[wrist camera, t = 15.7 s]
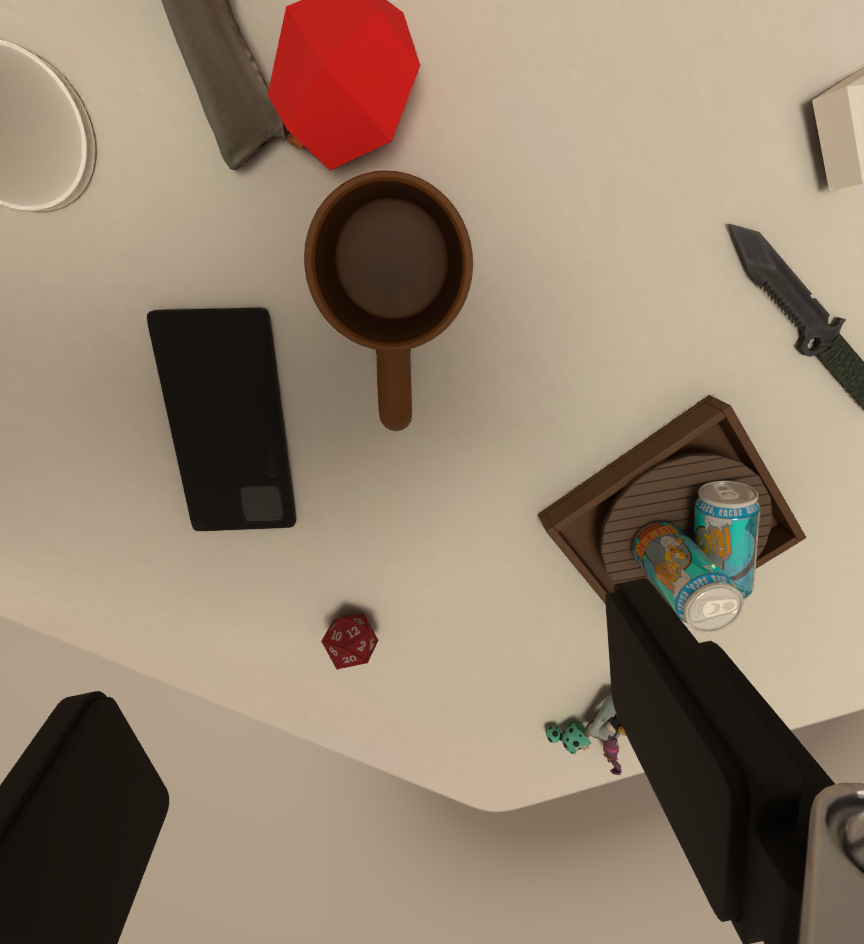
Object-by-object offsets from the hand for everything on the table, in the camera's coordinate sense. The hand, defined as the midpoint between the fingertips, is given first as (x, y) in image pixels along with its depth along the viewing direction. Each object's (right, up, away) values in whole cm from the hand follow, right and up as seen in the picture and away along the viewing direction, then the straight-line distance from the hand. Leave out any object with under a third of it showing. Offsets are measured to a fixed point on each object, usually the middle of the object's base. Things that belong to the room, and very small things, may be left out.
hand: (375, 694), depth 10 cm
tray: (+18, +1, +30) cm, 35 cm away
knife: (+27, +15, +24) cm, 38 cm away
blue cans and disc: (+19, 0, +27) cm, 33 cm away
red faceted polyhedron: (0, +25, +14) cm, 29 cm away
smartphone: (-12, +7, +25) cm, 29 cm away
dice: (-5, -8, +32) cm, 33 cm away
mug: (-1, +15, +23) cm, 27 cm away
